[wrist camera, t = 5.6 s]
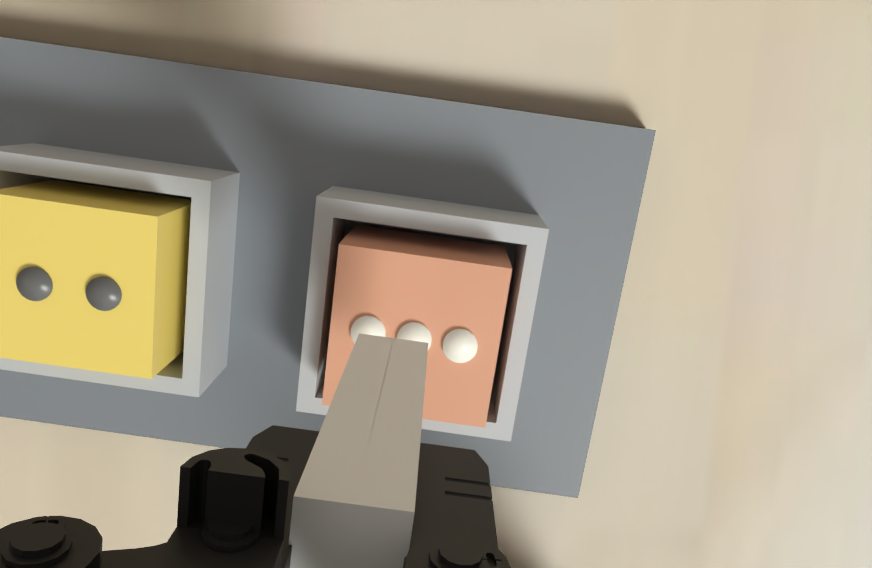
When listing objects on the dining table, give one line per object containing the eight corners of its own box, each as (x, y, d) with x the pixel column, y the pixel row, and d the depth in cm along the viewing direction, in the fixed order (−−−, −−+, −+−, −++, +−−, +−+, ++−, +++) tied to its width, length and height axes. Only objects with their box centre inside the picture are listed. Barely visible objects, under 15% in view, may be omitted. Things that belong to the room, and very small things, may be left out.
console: (-292, 359, 24) (-415, 401, 21) (-339, -12, 21) (-492, -35, 18) (573, 482, 24) (591, 543, 21) (646, 129, 21) (682, 133, 18)
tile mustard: (51, 322, 22) (-15, 357, 19) (51, 179, 20) (-19, 192, 17) (192, 342, 22) (149, 380, 19) (200, 201, 20) (156, 217, 17)
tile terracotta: (340, 364, 22) (321, 406, 19) (355, 224, 21) (337, 244, 18) (482, 384, 22) (485, 429, 19) (504, 245, 21) (512, 269, 18)
